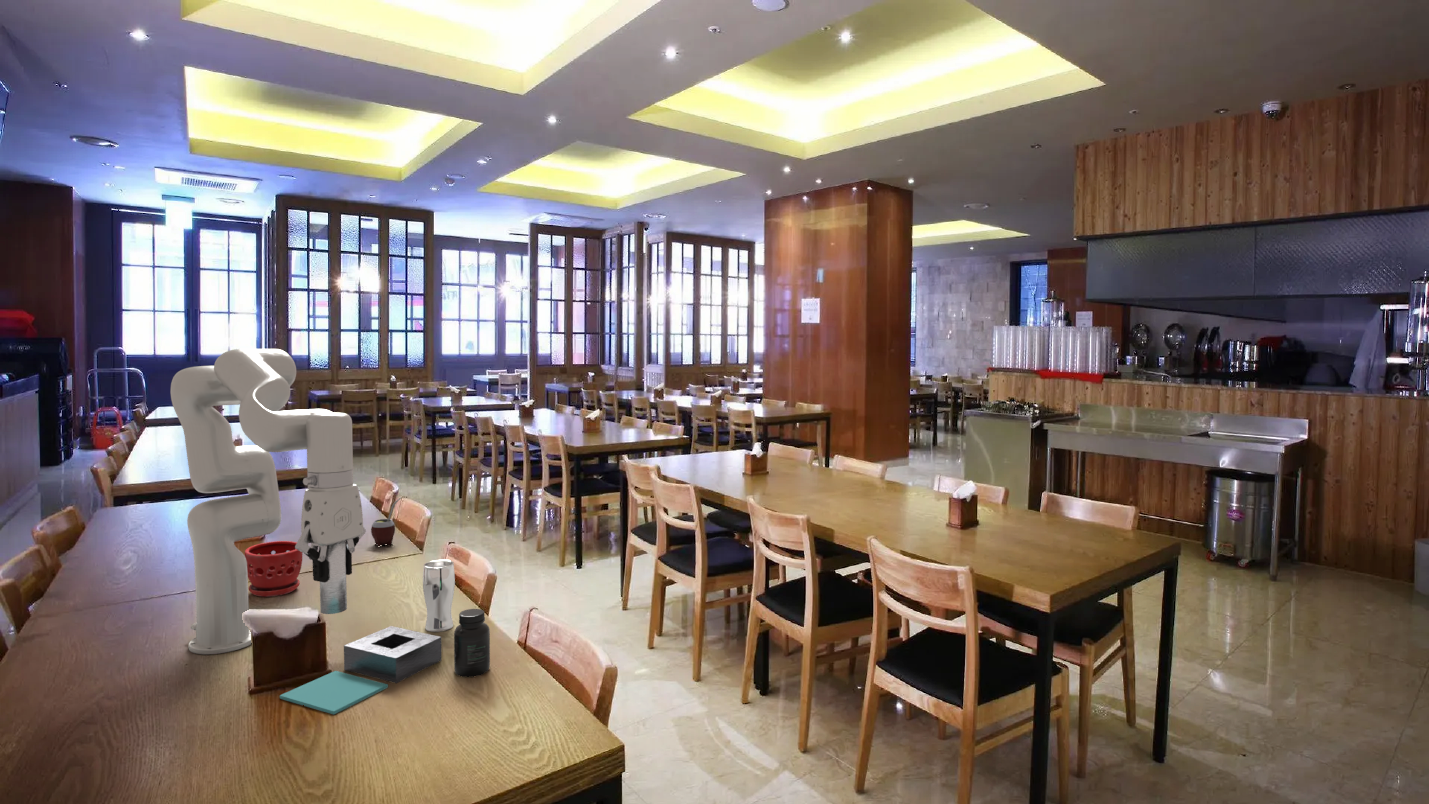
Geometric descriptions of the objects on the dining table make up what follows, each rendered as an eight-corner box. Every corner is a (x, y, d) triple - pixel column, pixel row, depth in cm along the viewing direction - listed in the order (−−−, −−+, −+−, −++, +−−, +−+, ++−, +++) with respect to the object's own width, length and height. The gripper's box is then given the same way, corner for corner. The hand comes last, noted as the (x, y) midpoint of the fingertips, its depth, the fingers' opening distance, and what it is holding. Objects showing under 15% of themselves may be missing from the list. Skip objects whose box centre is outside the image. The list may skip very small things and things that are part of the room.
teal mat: (279, 698, 141) (279, 695, 141) (335, 673, 152) (335, 670, 152) (333, 714, 136) (333, 711, 136) (387, 687, 147) (387, 684, 147)
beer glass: (444, 634, 174) (444, 569, 173) (417, 631, 175) (416, 566, 174) (460, 623, 181) (460, 560, 179) (434, 620, 182) (433, 558, 181)
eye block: (344, 669, 154) (343, 645, 154) (391, 648, 165) (391, 625, 165) (396, 683, 148) (395, 658, 148) (441, 660, 159) (441, 637, 159)
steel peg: (315, 611, 142) (313, 542, 141) (335, 604, 146) (333, 537, 145) (332, 615, 140) (330, 545, 139) (352, 608, 144) (350, 539, 143)
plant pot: (233, 595, 197) (232, 550, 196) (279, 581, 209) (278, 538, 208) (269, 603, 192) (268, 556, 191) (314, 588, 204) (313, 543, 203)
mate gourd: (366, 547, 245) (366, 500, 244) (381, 541, 253) (380, 496, 252) (388, 548, 244) (387, 502, 243) (402, 542, 252) (401, 497, 250)
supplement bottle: (452, 666, 157) (452, 609, 156) (487, 661, 159) (487, 605, 158) (455, 680, 150) (455, 620, 149) (491, 674, 153) (491, 616, 152)
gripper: (303, 489, 132) (306, 593, 133) (382, 474, 147) (384, 568, 148) (274, 485, 135) (276, 587, 136) (354, 471, 150) (356, 563, 151)
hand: (332, 576), depth 142 cm, fingers closed on steel peg, 4 cm apart
